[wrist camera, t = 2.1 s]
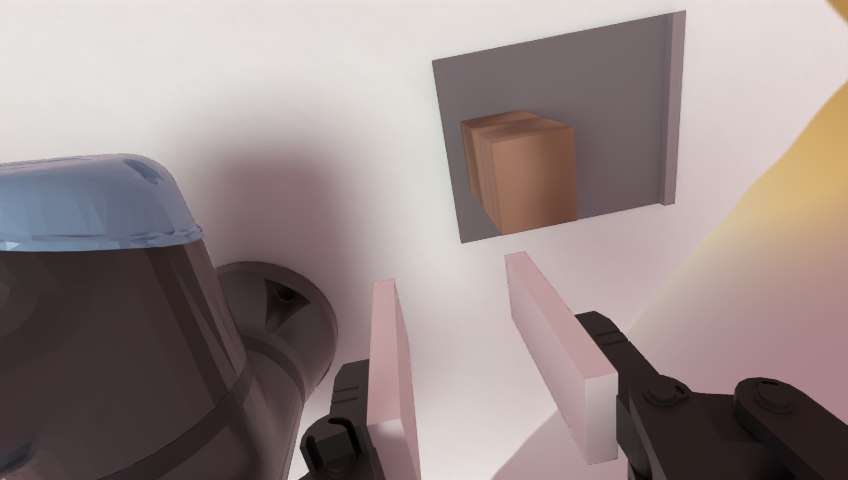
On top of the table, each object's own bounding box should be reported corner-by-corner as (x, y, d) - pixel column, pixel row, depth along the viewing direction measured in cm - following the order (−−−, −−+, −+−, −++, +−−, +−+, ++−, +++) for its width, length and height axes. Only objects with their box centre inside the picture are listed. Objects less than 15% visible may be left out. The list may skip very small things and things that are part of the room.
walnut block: (470, 189, 37) (502, 235, 27) (460, 121, 35) (491, 143, 25) (524, 178, 37) (577, 220, 27) (518, 109, 35) (574, 127, 25)
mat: (461, 241, 40) (463, 246, 38) (431, 60, 33) (433, 60, 32) (666, 199, 40) (674, 203, 39) (676, 11, 34) (686, 10, 32)
